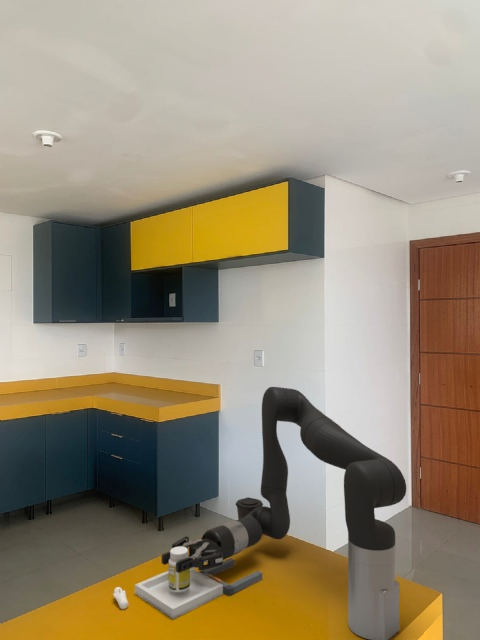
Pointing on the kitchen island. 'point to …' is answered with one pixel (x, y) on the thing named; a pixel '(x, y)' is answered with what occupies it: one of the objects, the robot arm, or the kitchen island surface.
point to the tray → (178, 593)
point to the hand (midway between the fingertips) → (169, 563)
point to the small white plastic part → (121, 597)
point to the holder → (236, 585)
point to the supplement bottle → (177, 580)
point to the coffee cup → (247, 506)
